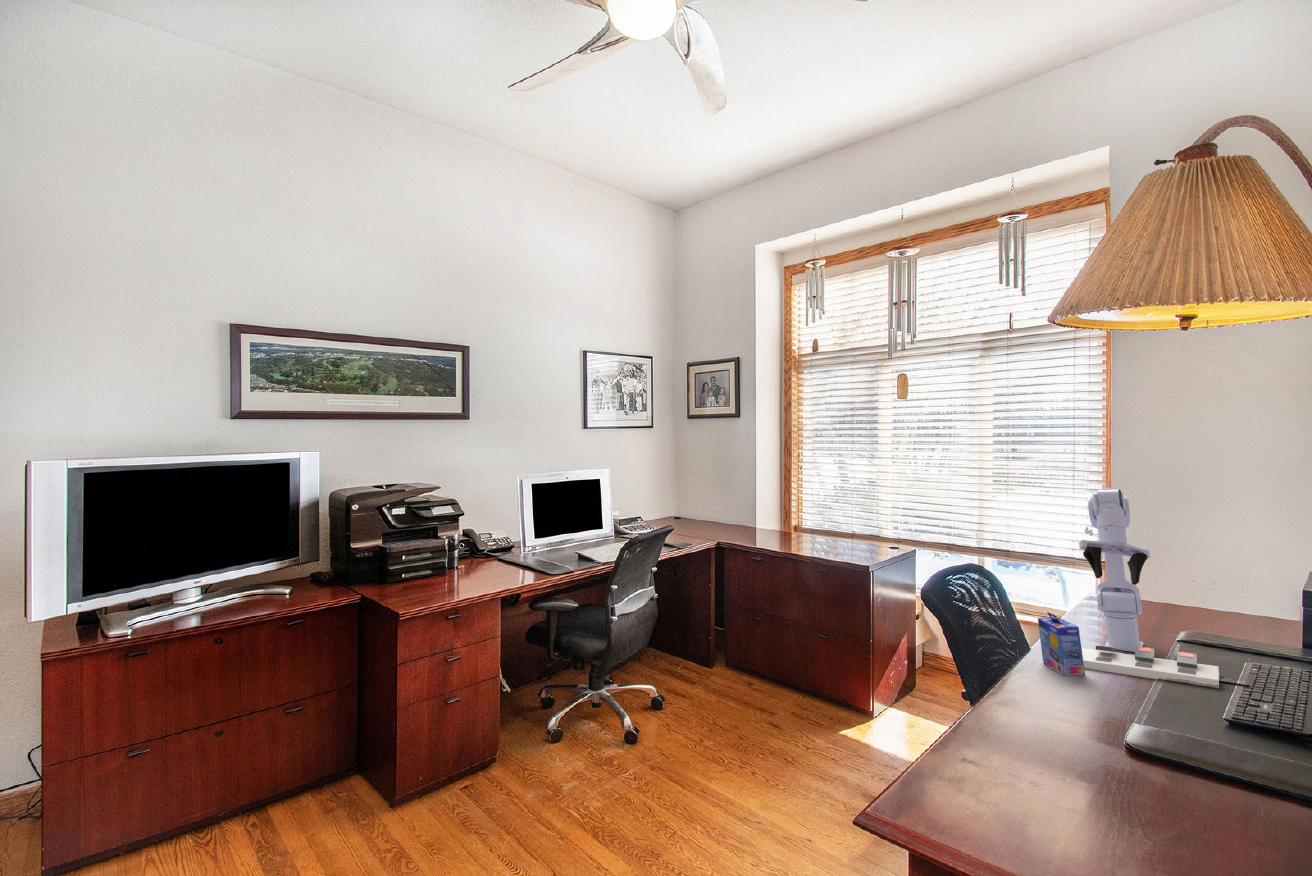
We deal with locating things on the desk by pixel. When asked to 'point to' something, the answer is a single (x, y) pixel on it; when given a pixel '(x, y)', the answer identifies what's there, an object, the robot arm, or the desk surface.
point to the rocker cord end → (1187, 659)
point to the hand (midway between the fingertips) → (1117, 580)
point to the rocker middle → (1144, 654)
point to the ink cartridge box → (1061, 645)
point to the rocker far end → (1106, 648)
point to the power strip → (1148, 667)
